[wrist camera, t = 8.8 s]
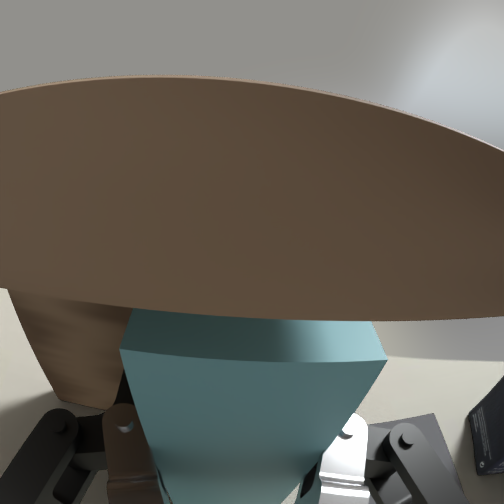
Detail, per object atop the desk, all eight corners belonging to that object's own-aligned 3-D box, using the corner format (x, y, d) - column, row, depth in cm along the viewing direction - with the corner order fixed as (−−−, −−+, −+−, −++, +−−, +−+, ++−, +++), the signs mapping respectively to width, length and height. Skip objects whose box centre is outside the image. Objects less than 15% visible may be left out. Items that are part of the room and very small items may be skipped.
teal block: (266, 436, 15) (329, 236, 9) (272, 511, 11) (388, 359, 5) (181, 432, 15) (167, 222, 8) (175, 508, 11) (118, 348, 5)
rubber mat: (429, 417, 18) (433, 412, 18) (470, 539, 9) (476, 537, 9) (302, 434, 17) (305, 430, 17) (325, 592, 8) (329, 593, 8)
